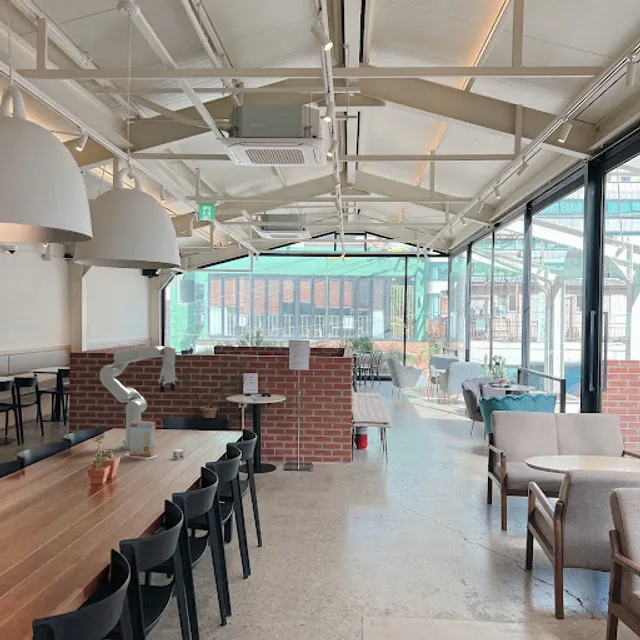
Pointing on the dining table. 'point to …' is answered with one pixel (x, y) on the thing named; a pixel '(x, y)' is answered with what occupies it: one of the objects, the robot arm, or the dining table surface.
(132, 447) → the cracker box
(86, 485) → the dining table surface
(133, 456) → the white mat
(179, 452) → the off-white cubic block
